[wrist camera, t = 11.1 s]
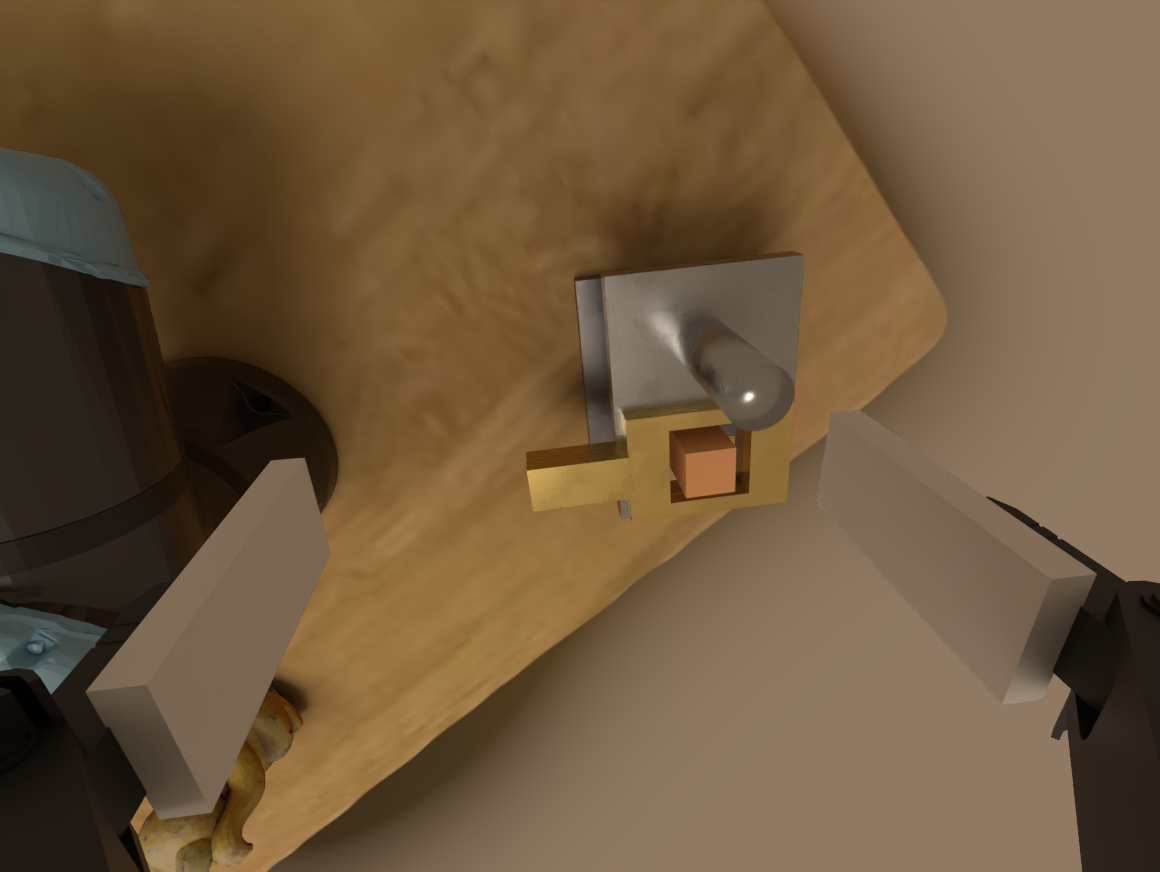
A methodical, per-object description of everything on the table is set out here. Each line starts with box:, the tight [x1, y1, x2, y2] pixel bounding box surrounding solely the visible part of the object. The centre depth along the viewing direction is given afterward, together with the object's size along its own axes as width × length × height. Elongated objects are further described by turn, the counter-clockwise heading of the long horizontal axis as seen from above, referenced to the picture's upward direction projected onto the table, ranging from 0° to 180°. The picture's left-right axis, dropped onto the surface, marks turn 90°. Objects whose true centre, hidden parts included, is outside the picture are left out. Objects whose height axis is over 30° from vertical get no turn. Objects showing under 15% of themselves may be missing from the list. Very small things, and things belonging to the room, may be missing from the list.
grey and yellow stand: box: [526, 251, 804, 522], centre depth 34 cm, size 18×16×17 cm
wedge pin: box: [669, 425, 736, 498], centre depth 38 cm, size 3×3×10 cm
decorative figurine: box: [138, 684, 303, 872], centre depth 46 cm, size 10×8×15 cm
